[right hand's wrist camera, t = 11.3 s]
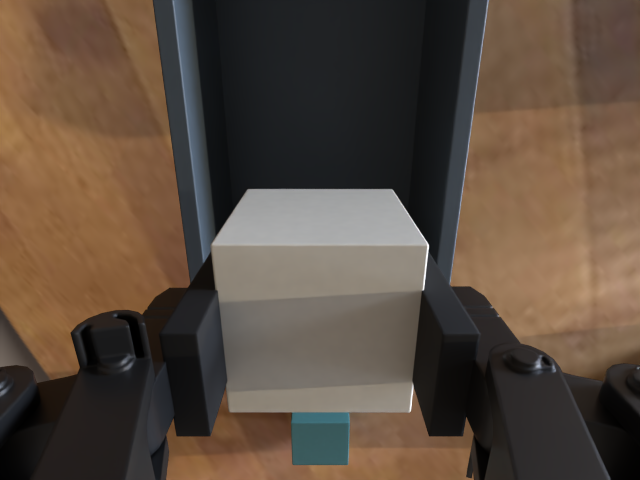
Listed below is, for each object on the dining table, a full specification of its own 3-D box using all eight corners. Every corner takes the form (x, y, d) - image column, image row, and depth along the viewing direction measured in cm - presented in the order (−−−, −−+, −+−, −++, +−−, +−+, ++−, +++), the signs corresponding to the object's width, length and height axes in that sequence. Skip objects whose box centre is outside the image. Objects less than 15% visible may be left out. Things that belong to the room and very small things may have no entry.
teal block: (346, 381, 39) (349, 422, 34) (345, 421, 41) (348, 465, 36) (294, 381, 39) (290, 422, 34) (295, 421, 41) (292, 465, 36)
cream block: (392, 188, 14) (429, 244, 9) (384, 314, 16) (411, 413, 11) (246, 188, 14) (209, 244, 9) (255, 314, 16) (228, 413, 11)
